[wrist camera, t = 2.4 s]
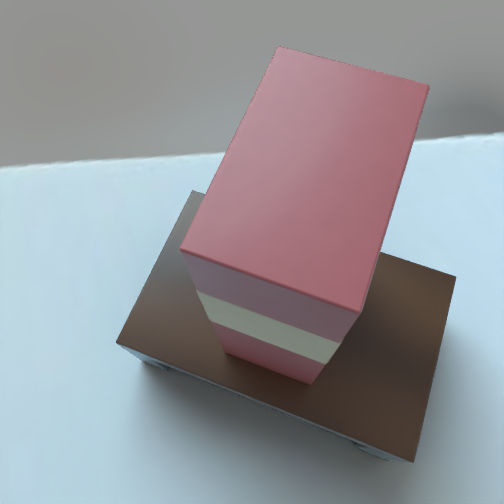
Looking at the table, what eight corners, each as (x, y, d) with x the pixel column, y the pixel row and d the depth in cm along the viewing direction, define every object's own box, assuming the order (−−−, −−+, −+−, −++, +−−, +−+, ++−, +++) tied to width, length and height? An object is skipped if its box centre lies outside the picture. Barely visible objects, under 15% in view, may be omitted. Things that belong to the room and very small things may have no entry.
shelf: (387, 460, 20) (414, 463, 16) (140, 360, 22) (114, 342, 18) (425, 304, 22) (456, 276, 19) (203, 228, 24) (192, 189, 21)
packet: (311, 386, 17) (361, 316, 8) (223, 352, 18) (175, 249, 9) (353, 257, 19) (432, 83, 10) (272, 230, 20) (277, 43, 11)
